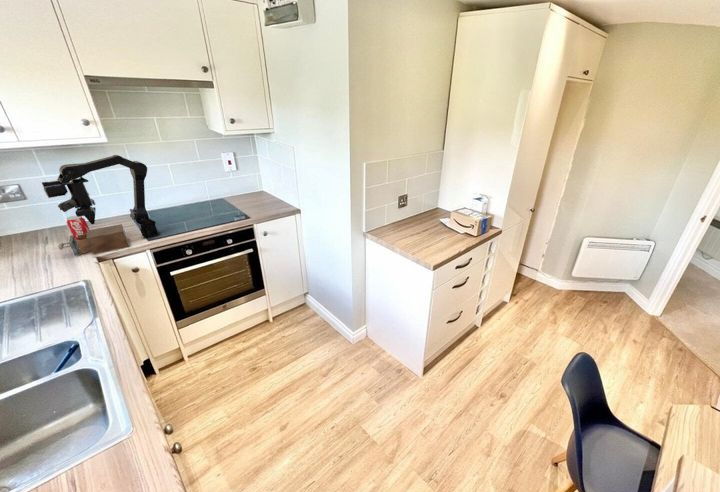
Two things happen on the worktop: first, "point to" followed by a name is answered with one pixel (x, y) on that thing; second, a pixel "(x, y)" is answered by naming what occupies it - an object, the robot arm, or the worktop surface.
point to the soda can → (77, 226)
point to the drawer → (77, 244)
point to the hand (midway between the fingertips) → (93, 224)
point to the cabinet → (107, 239)
